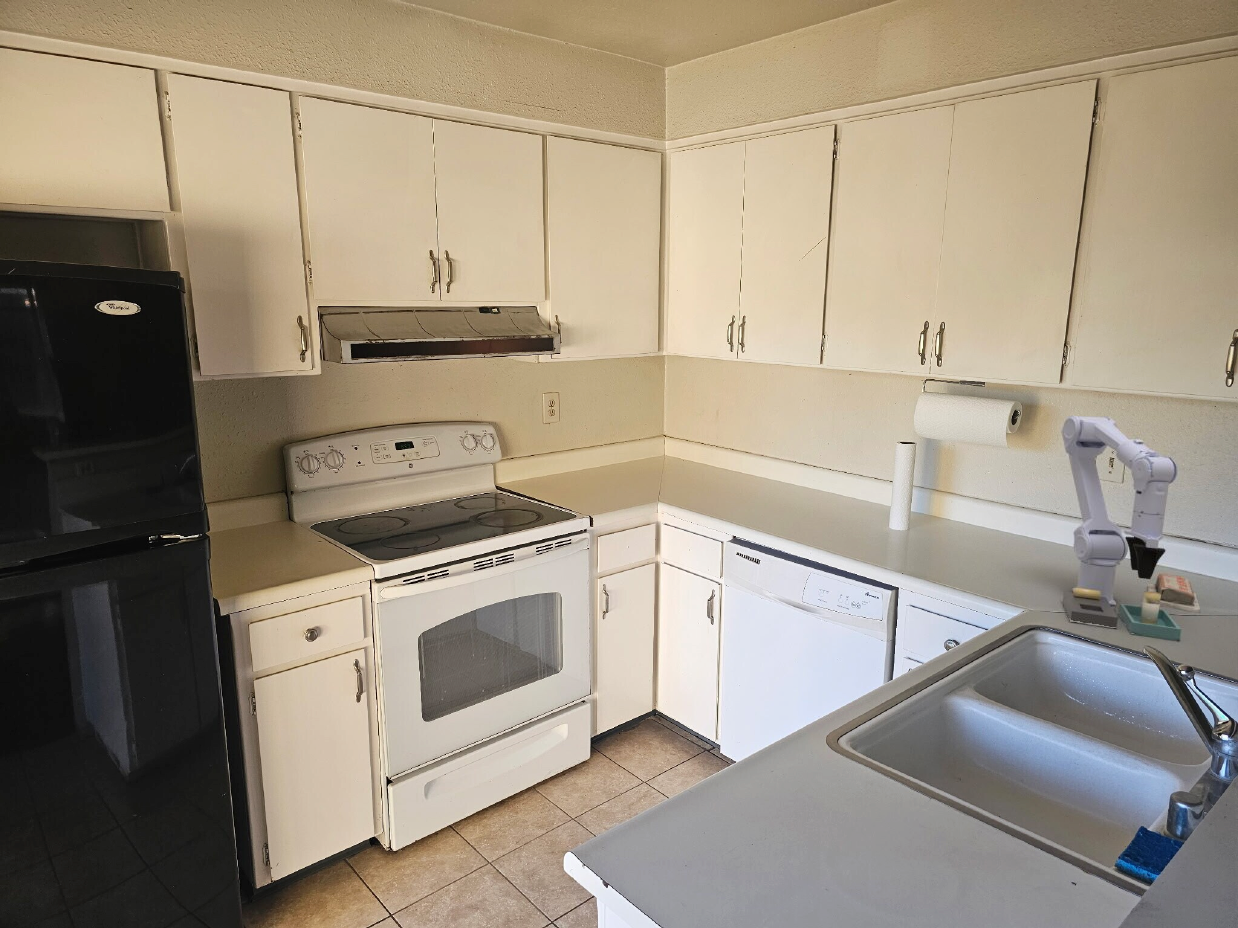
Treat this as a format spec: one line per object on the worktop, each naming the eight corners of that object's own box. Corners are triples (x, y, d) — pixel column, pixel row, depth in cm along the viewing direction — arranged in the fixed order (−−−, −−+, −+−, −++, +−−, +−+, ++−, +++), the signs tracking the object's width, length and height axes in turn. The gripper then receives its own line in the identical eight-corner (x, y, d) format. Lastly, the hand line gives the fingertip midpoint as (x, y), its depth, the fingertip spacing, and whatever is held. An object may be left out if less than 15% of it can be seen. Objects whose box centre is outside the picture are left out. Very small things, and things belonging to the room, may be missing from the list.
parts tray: (1118, 614, 180) (1120, 603, 180) (1163, 621, 177) (1165, 609, 176) (1130, 633, 167) (1132, 622, 167) (1179, 641, 164) (1181, 629, 164)
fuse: (1138, 621, 174) (1142, 590, 173) (1154, 624, 173) (1159, 592, 172) (1141, 625, 171) (1145, 593, 170) (1157, 628, 170) (1162, 596, 169)
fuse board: (1062, 601, 188) (1064, 583, 187) (1104, 607, 184) (1107, 588, 184) (1070, 622, 173) (1073, 601, 172) (1116, 629, 170) (1119, 608, 169)
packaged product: (1148, 569, 203) (1197, 577, 198) (1146, 588, 204) (1194, 596, 199) (1150, 586, 188) (1203, 594, 183) (1147, 606, 189) (1199, 615, 184)
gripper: (1121, 505, 182) (1113, 564, 184) (1133, 515, 169) (1125, 579, 170) (1158, 508, 179) (1150, 568, 181) (1173, 519, 166) (1164, 584, 168)
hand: (1140, 574), depth 175 cm, fingers open, 7 cm apart
